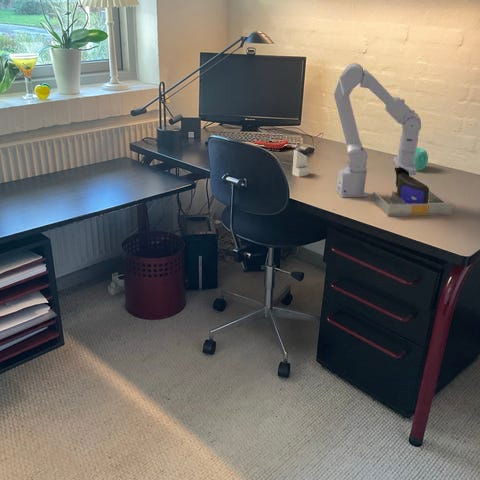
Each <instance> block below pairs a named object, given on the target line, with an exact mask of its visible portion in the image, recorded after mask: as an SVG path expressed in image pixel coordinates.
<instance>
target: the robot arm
mask: <svg viewBox="0 0 480 480" xmlns="http://www.w3.org/2000/svg"><path fill="white" fill-rule="evenodd" d="M363 68H364V67H363V66H362V65H361V64H359V63H351V64H349V65H347V66H346V67H345V69H344V70H343V71H342V72H341V74H340V76H339V79H338V82H337V85H336V87H335V91H334V93H333V97H334V101H335V104H336V108H337V113H338V116H339V117H338V118H339V120H340V124H341V128H342V131H343V135H344V139H345V143H346V144H345V145H346V148H347V149H346V150H347V155H348V160H347V165H346V167H345V168H344V169H339V170H338V173H337V180H336V188H335V191H336V192H337V193H338V195H340V196H341V198H358V197H359V198H362V197H363V198H367V197H368V194H367V193H366V192H365V186H366V181H367V174H368V168H367V164H368V163H367V160H368V153H367V151H366V150H365V148H364V147H363V144H362V141H361V139H360V135H359V130H358V127H357V123H356V119H355V115H354V110H353V107H352V104H351V99H350V95H351V93H352V92H353V90H354V89H355V88H356V87H357V86H358V85H359V84H360V85H359V88H363V89H369V90H370V92H371V93H372V94H374V95H375V96H376V97H377V98H378V99H379V100H380V101H381V102H382V103H383V104H385V111H386V113H387V114H388V115H390V116H391V118H392V119H393V120H394V121H396V123H398V124H399V125H401V126H402V131H401V135H400V137H399V138H400V139H399V144H398V149H397V151H398V152H397V155H396V156H393V162H392V163H395V165H396V167H394V171H395V175H396V176H395V178H396V179H395V186H396V188H397V185H398V175H399V174H400V173H405V174H407V175H409V176H416V175H417V172H418V171H417V170H416V169H415V166H416V165H417V163H416V162H414V159H415V154H416V148H417V146H418V141H419V136H420V135H419V134H420V131H421V130H422V121H421V117H420V116H419V114H418V113H416V111H415V110H414V109H411V108H410V107H409V105H407V104H406V100H405V99H404V98H400V97H399V96H397V97H395V96H394V97H393V96H392V94H391V93H389V91H388V90H387V89H386V88H385V87H384V86H383V85H382V84H381V83H380V81H379V80H378V79H377V78H375V76H374V75H373V74H371V73H370V71H368V70H366V68H365V69H363Z"/></svg>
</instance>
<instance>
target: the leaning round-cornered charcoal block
mask: <svg viewBox="0 0 480 480" xmlns="http://www.w3.org/2000/svg"><path fill="white" fill-rule="evenodd" d="M429 191H430V188H429V186H427V185H426V184H424V183H423V182H421V181H419V180H418V179H415V178H414V177H412V175H407V174H405V173H400V174H399V175H398V185H397V187H396V193H397V194H398V195H399V196H400V197H401V198H402V199H403V200H404V201H405V202H407V203H429V200H428V197H429Z"/></svg>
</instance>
